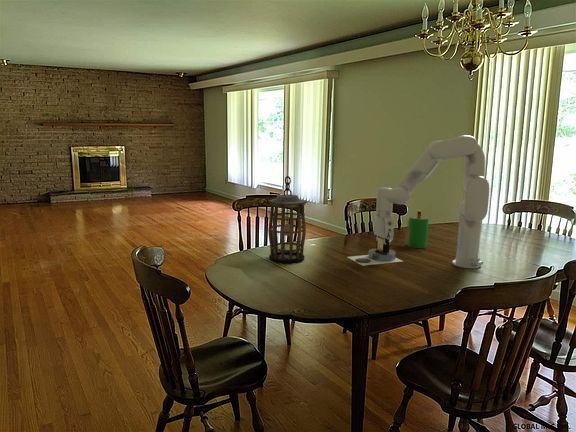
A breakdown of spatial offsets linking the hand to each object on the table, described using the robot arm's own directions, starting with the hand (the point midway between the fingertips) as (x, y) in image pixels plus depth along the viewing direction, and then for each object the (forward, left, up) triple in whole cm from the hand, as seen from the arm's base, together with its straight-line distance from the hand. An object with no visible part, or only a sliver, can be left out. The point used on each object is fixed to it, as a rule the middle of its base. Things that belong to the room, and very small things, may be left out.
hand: (382, 250), depth 219 cm
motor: (+17, -33, -5) cm, 37 cm away
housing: (0, 0, -4) cm, 4 cm away
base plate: (-1, +5, -5) cm, 7 cm away
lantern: (+16, +43, -5) cm, 46 cm away
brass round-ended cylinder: (0, 0, -3) cm, 3 cm away
